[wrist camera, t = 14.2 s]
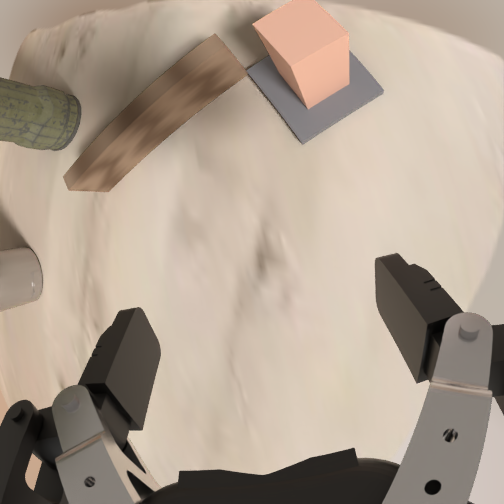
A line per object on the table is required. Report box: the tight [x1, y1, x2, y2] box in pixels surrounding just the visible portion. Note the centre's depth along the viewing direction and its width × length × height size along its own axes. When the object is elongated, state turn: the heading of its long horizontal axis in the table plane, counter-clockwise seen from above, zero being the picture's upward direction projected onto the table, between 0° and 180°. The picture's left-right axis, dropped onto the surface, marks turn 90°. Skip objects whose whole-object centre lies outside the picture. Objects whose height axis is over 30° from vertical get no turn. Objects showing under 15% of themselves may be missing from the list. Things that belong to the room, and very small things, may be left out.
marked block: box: [252, 0, 349, 109], centre depth 23 cm, size 5×5×10 cm
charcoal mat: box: [246, 50, 384, 144], centre depth 28 cm, size 10×10×1 cm
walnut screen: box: [63, 34, 248, 192], centre depth 31 cm, size 22×2×7 cm, turn 124°
